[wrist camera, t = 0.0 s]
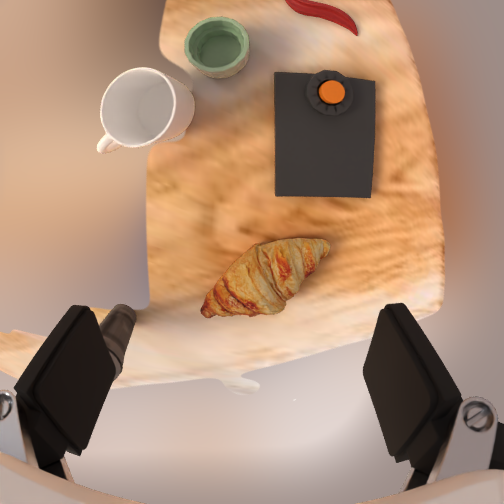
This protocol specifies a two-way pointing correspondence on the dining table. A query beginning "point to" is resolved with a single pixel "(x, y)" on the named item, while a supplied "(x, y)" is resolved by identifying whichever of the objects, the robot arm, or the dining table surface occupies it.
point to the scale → (323, 136)
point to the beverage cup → (118, 333)
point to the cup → (144, 109)
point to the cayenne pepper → (323, 12)
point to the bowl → (218, 47)
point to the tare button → (331, 92)
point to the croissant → (264, 278)
